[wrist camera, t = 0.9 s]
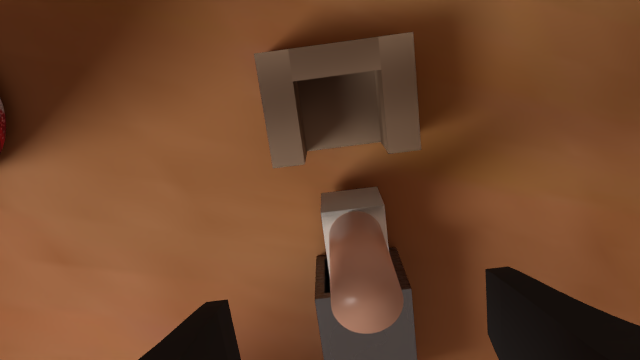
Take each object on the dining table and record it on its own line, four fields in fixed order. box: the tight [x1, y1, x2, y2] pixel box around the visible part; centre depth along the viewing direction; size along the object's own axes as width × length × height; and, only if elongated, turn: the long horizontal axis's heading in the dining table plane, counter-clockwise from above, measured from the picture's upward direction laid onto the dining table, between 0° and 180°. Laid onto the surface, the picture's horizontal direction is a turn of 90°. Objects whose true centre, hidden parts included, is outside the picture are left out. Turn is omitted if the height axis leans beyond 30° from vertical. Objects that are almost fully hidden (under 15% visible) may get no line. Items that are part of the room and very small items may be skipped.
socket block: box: [254, 32, 421, 168], centre depth 18 cm, size 4×6×3 cm
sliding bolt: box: [321, 187, 404, 334], centre depth 18 cm, size 10×3×8 cm, turn 8°
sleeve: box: [315, 247, 417, 360], centre depth 21 cm, size 7×4×4 cm, turn 8°
